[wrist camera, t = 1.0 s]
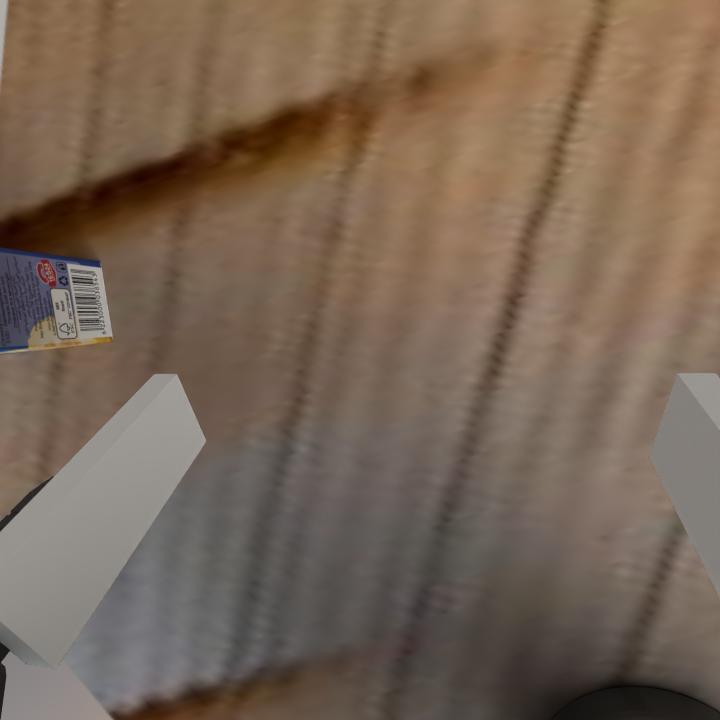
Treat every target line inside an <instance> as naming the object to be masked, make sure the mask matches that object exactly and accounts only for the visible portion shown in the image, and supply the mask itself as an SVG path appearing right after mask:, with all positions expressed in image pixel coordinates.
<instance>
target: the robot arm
mask: <svg viewBox="0 0 720 720" xmlns="http://www.w3.org/2000/svg"><path fill="white" fill-rule="evenodd" d="M205 443H206V439H205V437H204V435H203V432H202V430H201V428H200V425H199V423H198V421H197V419H196V416H195V414H194V412H193V410H192V407H191V405H190V403H189V400H188V398H187V396H186V394H185V391H184V389H183V387H182V384H181V382H180V380H179V378H178V375H177V374H154V375H153V376H152V377H151V378H150V379H149V380H148V381H147V382H146V383H145V384H144V385H143V386H142V387H141V388H140V389H139V390H138V391H137V392H136V393H135V394H134V395H133V396H132V397H131V398H130V400H129V401H128V402H127V403H126V404H125V405H124V406H123V407H122V408H121V409H120V410H119V411H118V412H117V413H116V414H115V415H114V416H113V417H112V418H111V419H110V420H109V421H108V422H107V423H106V424H105V425H104V426H103V427H102V428H101V429H100V430H99V431H98V432H97V433H96V434H95V435H94V436H93V437H92V438H91V439H90V440H89V441H88V443H87V444H86V445H85V446H84V447H83V448H82V449H81V450H80V451H79V452H78V453H77V454H76V455H75V456H74V457H73V458H72V459H71V460H70V461H69V462H68V463H67V464H66V465H65V466H64V467H63V468H62V469H61V470H60V471H59V472H58V473H57V474H56V475H55V476H53V477H51V478H50V479H48V480H47V481H45V482H44V483H42V484H41V485H40V486H38V487H37V488H35V489H34V490H32V491H31V492H29V493H28V494H27V495H26V496H25V497H24V498H23V500H22V501H21V502H20V503H19V504H18V505H17V506H16V507H15V508H14V509H13V510H12V511H11V514H10V515H7V516H6V517H5V518H4V519H3V520H2V521H1V522H0V719H1V712H2V705H3V697H4V690H5V682H6V669H5V666H4V665H3V664H2V663H1V661H2V660H3V659H4V658H5V656H6V655H7V654H8V652H9V651H11V652H12V653H13V654H14V655H16V656H17V657H18V658H19V659H20V660H22V661H23V662H24V663H25V664H29V665H35V666H40V667H45V668H51V669H57V667H58V666H59V664H60V663H61V661H62V660H63V658H64V656H65V655H66V653H67V652H68V650H69V649H70V647H71V646H72V644H73V643H74V641H75V640H76V638H77V637H78V635H79V634H80V632H81V631H82V629H83V628H84V626H85V625H86V623H87V622H88V620H89V619H90V617H91V616H92V614H93V613H94V611H95V610H96V608H97V607H98V605H99V603H100V602H101V600H102V599H103V597H104V596H105V594H106V593H107V591H108V590H109V588H110V587H111V585H112V584H113V582H114V581H115V579H116V578H117V576H118V575H119V573H120V572H121V570H122V569H123V567H124V566H125V564H126V563H127V561H128V560H129V558H130V557H131V555H132V553H133V552H134V550H135V549H136V547H137V546H138V544H139V543H140V541H141V540H142V538H143V537H144V535H145V534H146V532H147V531H148V529H149V528H150V526H151V525H152V523H153V522H154V520H155V519H156V517H157V516H158V514H159V513H160V511H161V510H162V508H163V507H164V505H165V503H166V502H167V500H168V499H169V497H170V496H171V494H172V493H173V491H174V490H175V488H176V487H177V485H178V484H179V482H180V481H181V479H182V478H183V476H184V475H185V473H186V472H187V470H188V469H189V467H190V466H191V464H192V463H193V461H194V460H195V458H196V457H197V455H198V454H199V452H200V450H201V449H202V447H203V446H204V444H205ZM649 459H650V461H651V463H652V465H653V467H654V469H655V471H656V473H657V475H658V477H659V478H660V480H661V482H662V484H663V486H664V488H665V490H666V492H667V494H668V496H669V498H670V500H671V502H672V504H673V506H674V508H675V510H676V512H677V514H678V516H679V518H680V520H681V522H682V524H683V526H684V528H685V530H686V532H687V534H688V536H689V538H690V540H691V542H692V544H693V546H694V548H695V550H696V552H697V553H698V555H699V557H700V559H701V561H702V563H703V565H704V567H705V569H706V571H707V573H708V575H709V577H710V579H711V581H712V583H713V585H714V587H715V589H716V591H717V593H718V595H719V597H720V378H719V377H718V375H717V374H716V373H677V376H676V379H675V382H674V385H673V388H672V391H671V394H670V397H669V400H668V403H667V406H666V409H665V412H664V415H663V418H662V421H661V424H660V427H659V430H658V433H657V436H656V439H655V442H654V445H653V448H652V451H651V453H650V456H649ZM552 720H720V713H718V712H717V711H715V710H713V709H712V708H710V707H708V706H706V705H704V704H702V703H700V702H698V701H696V700H693V699H691V698H688V697H686V696H683V695H680V694H676V693H673V692H669V691H665V690H660V689H654V688H646V687H618V688H611V689H605V690H601V691H597V692H594V693H591V694H588V695H586V696H583V697H581V698H579V699H577V700H575V701H574V702H572V703H570V704H569V705H567V706H566V707H565V708H564V709H562V710H561V711H560V712H559V713H558V714H557V715H556V716H555V717H554V718H553V719H552Z"/></svg>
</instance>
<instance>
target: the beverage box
mask: <svg viewBox="0 0 720 720" xmlns="http://www.w3.org/2000/svg"><path fill="white" fill-rule="evenodd" d="M112 341H113V335H112V328H111V322H110V316H109V310H108V304H107V297H106V291H105V285H104V279H103V272H102V266H101V262H99V261H92V260H85V259H78V258H71V257H64V256H57V255H50V254H43V253H35V252H28V251H21V250H14V249H7V248H0V354H11V353H21V352H29V351H37V350H46V349H54V348H62V347H70V346H79V345H87V344H95V343H104V342H112Z"/></svg>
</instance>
